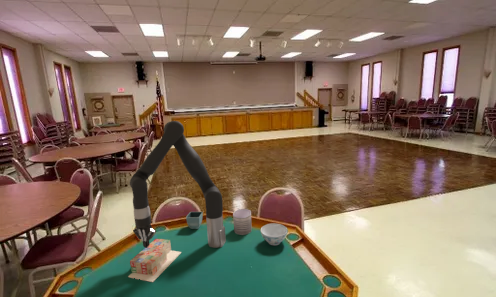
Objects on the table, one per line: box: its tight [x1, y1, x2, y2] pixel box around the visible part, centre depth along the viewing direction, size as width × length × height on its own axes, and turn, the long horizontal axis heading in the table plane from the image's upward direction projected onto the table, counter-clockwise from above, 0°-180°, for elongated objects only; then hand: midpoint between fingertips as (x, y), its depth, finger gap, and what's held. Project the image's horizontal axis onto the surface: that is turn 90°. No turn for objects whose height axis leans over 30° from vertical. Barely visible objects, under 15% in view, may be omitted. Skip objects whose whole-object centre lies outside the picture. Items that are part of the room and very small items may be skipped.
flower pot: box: [185, 211, 204, 230], centre depth 167 cm, size 9×9×9 cm
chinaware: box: [260, 223, 288, 246], centre depth 145 cm, size 15×15×8 cm
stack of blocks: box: [129, 238, 172, 275], centre depth 132 cm, size 21×6×12 cm
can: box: [232, 208, 253, 236], centre depth 160 cm, size 11×11×12 cm
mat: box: [127, 249, 182, 283], centre depth 131 cm, size 14×24×1 cm, turn 162°
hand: (146, 246), depth 130 cm, fingers closed
